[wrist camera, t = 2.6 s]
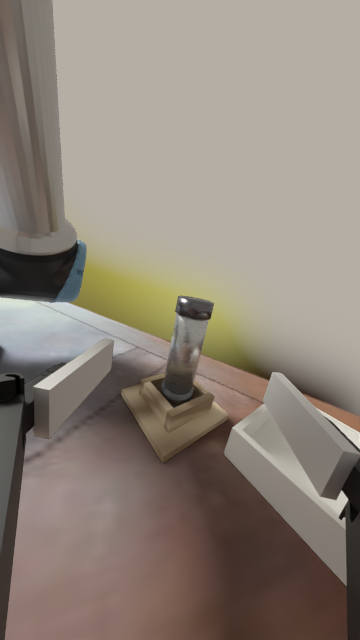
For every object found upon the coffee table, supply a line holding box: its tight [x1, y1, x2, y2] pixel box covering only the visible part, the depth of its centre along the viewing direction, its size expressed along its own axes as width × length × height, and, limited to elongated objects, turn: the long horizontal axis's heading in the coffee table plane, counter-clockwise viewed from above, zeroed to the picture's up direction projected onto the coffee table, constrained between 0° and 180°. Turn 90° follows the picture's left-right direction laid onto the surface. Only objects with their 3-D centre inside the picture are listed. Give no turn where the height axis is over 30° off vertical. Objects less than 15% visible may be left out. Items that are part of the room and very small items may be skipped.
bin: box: [224, 404, 360, 587], centre depth 20 cm, size 16×16×4 cm
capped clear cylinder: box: [160, 296, 214, 408], centre depth 25 cm, size 5×5×16 cm
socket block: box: [121, 373, 229, 463], centre depth 26 cm, size 12×12×4 cm
